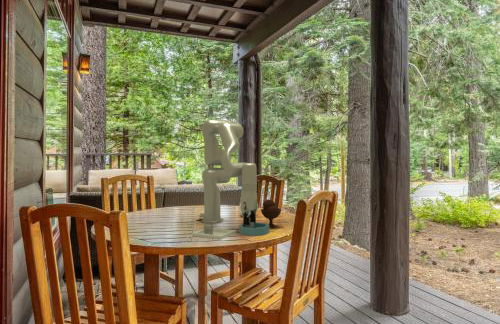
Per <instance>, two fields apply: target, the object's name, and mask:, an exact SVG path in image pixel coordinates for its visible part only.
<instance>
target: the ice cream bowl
mask: <svg viewBox="0 0 500 324" xmlns="http://www.w3.org/2000/svg"><path fill="white" fill-rule="evenodd" d="M262 203H263V204H262V205H263V208H261V209H260V213H261V214H262V216H263V217H264V218H266V219H268V222H269V223H267V224H268V225H269V229H274V228H276V227H277V226H276V224H274V223H273V221H274V219H277V218H278V217H279V216H280V215H281V213H282V209H281V208H278V204H277V203H275V201H274V200H273V199H265V200H264V202H262Z"/></svg>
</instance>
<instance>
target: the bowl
mask: <svg viewBox="0 0 500 324" xmlns="http://www.w3.org/2000/svg"><path fill="white" fill-rule="evenodd" d="M268 224H269V223H265V222H257V221H256V223H254V228H249V227H245V225H244V224H243V223H241V224H239V225H238V232H239V233H240V234H241V235H244V236H251V237H254V236H264V235H267V234H269V233H270V228H269V225H268Z"/></svg>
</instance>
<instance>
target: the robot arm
mask: <svg viewBox="0 0 500 324" xmlns="http://www.w3.org/2000/svg"><path fill="white" fill-rule="evenodd" d="M201 133H202V138H203V145H204V149H203V150H204V151H203V152H204V163H205V164H206V165H207V166H220V167H208V168H205V169H203V171H202V173H201V179H202V184H203V211H204V212H203V213H200V214H199V218H202V219H201V222H202V223H205V224H217V223H222V222H224V219H223V218H222V217H221V189H220V188H219V187H218V184H227V183H229V182H230V181H231V178H241V194H240V208H239V210H240V209H241V212H242V214H243V216H242V217H243V219H242V221H243V223H242V224H244V225H250V221H251V222H254V223H256V222H257V220H256V219H257V212H258V211H257V204H258V195H257V194H258V193H257V191H258V187H257V186H258V182H257V181H258V180H257V179H258V178H257V177H258V176H257V175H258V174H257V171H258V169H257V164H256V163H253V162H251V163H250V162H232V156H231V154H233V153H235V152H237V151H238V150H239V148H240V145H241V144H240V142H239V140H238V139H240V138H242V137H244V127H243V126H242V124H241V123H240V122H236V121H233V120H229V119H207V120H205V121H204V122H203V123H202V127H201ZM216 135H219V138H220V141H221V143H222V146H223V149H222V148H221V149H220V147H219V146H220V144H219V139H218V138H217V136H216ZM247 210H248V211H247ZM256 211H257V212H256ZM246 212H247V213H246ZM249 212H250V216H249Z"/></svg>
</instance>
